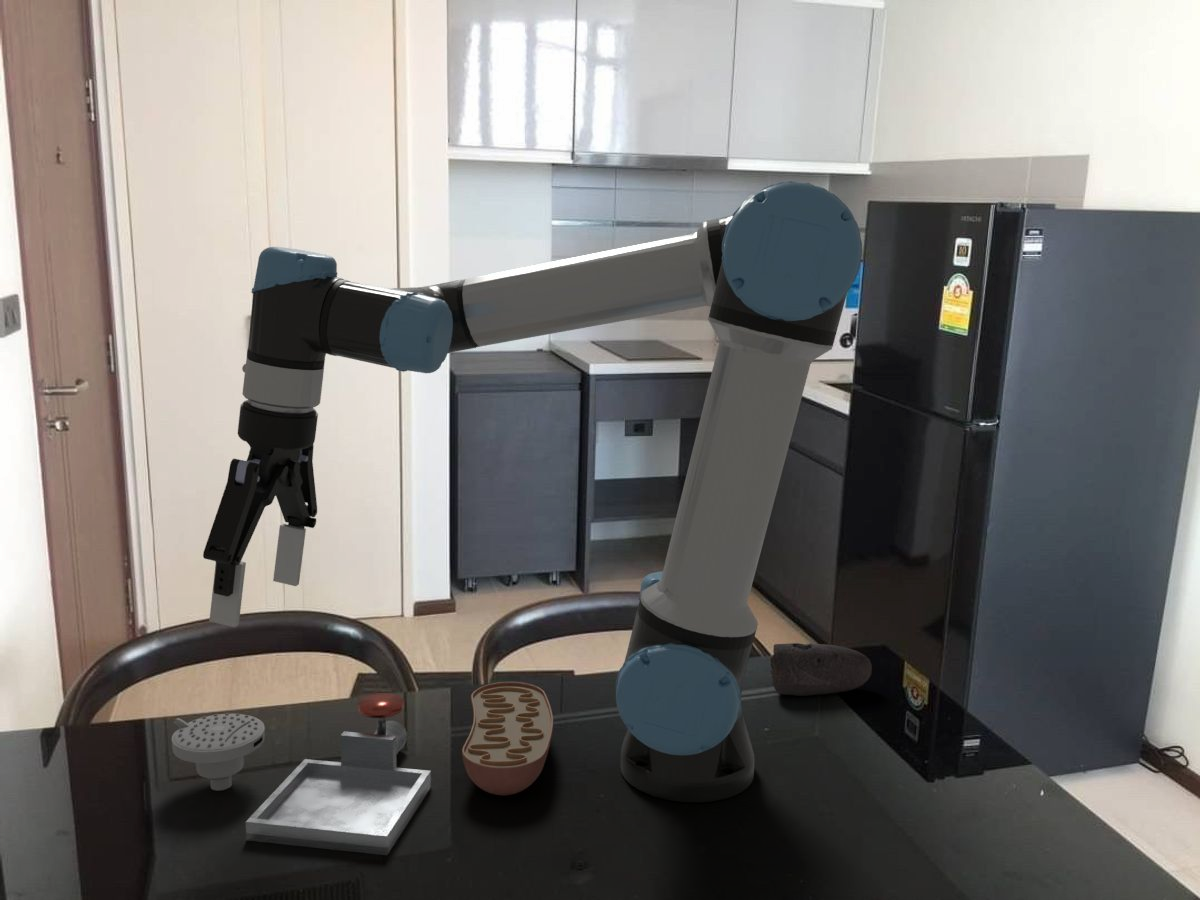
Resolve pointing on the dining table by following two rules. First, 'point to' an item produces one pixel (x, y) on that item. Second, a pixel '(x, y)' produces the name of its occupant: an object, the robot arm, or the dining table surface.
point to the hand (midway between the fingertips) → (256, 602)
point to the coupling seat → (347, 792)
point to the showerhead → (218, 744)
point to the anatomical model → (508, 737)
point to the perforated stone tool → (817, 669)
